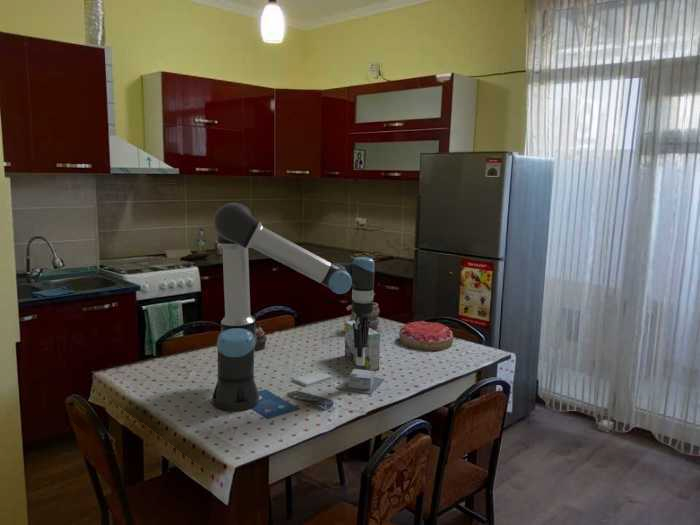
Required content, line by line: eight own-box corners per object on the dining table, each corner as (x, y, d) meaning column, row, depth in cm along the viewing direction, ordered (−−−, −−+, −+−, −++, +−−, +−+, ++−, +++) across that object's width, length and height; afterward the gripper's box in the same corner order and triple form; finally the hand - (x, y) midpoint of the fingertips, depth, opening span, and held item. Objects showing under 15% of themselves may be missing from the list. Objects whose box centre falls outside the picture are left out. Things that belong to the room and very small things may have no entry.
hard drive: (317, 370, 213) (291, 377, 205) (331, 375, 208) (306, 383, 199) (316, 374, 214) (291, 382, 205) (331, 380, 208) (306, 388, 199)
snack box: (343, 355, 235) (344, 321, 233) (355, 354, 238) (356, 319, 236) (367, 371, 217) (369, 334, 215) (380, 369, 219) (381, 332, 217)
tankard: (367, 326, 283) (368, 297, 280) (384, 332, 273) (385, 302, 271) (336, 332, 270) (337, 302, 268) (353, 339, 260) (354, 307, 258)
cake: (424, 329, 276) (425, 314, 274) (464, 344, 257) (465, 328, 256) (388, 341, 261) (388, 324, 259) (427, 357, 242) (428, 340, 240)
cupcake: (262, 352, 237) (263, 329, 235) (241, 350, 238) (241, 327, 237) (269, 345, 246) (269, 323, 245) (248, 344, 248) (248, 322, 246)
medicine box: (353, 379, 207) (347, 388, 198) (353, 368, 206) (348, 376, 198) (374, 382, 205) (369, 390, 196) (374, 370, 204) (370, 378, 196)
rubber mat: (370, 394, 194) (370, 393, 194) (336, 388, 198) (336, 387, 198) (384, 379, 208) (384, 378, 208) (351, 374, 213) (351, 373, 213)
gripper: (366, 305, 190) (364, 372, 194) (378, 298, 203) (375, 361, 206) (346, 303, 193) (343, 368, 197) (358, 296, 205) (356, 358, 209)
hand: (360, 364), depth 201 cm, fingers closed
